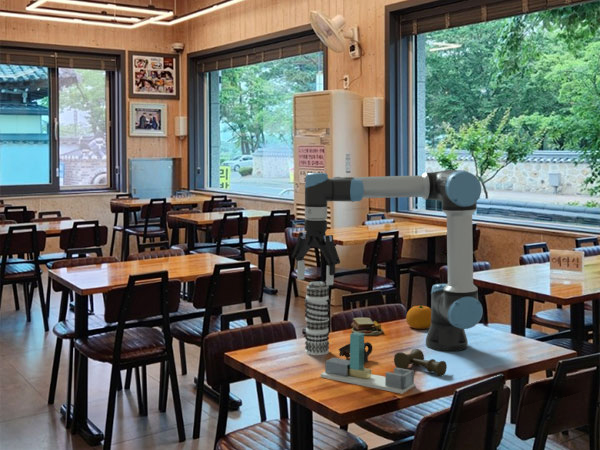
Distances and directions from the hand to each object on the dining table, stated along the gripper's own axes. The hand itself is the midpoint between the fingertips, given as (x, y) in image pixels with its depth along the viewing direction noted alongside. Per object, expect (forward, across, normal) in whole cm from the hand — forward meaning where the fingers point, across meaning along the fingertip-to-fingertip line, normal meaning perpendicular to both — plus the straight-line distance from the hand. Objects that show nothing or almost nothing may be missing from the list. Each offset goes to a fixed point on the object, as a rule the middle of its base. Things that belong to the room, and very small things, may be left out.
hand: (315, 282), depth 250 cm
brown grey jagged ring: (+28, +10, +11) cm, 31 cm away
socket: (+27, +38, -2) cm, 46 cm away
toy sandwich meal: (+28, -14, +44) cm, 54 cm away
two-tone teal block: (+26, +21, -5) cm, 33 cm away
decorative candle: (+28, -8, +9) cm, 30 cm away
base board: (+27, +26, -4) cm, 38 cm away
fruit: (+27, -4, +66) cm, 71 cm away
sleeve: (+27, +17, -6) cm, 33 cm away
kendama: (+28, +30, +18) cm, 45 cm away
